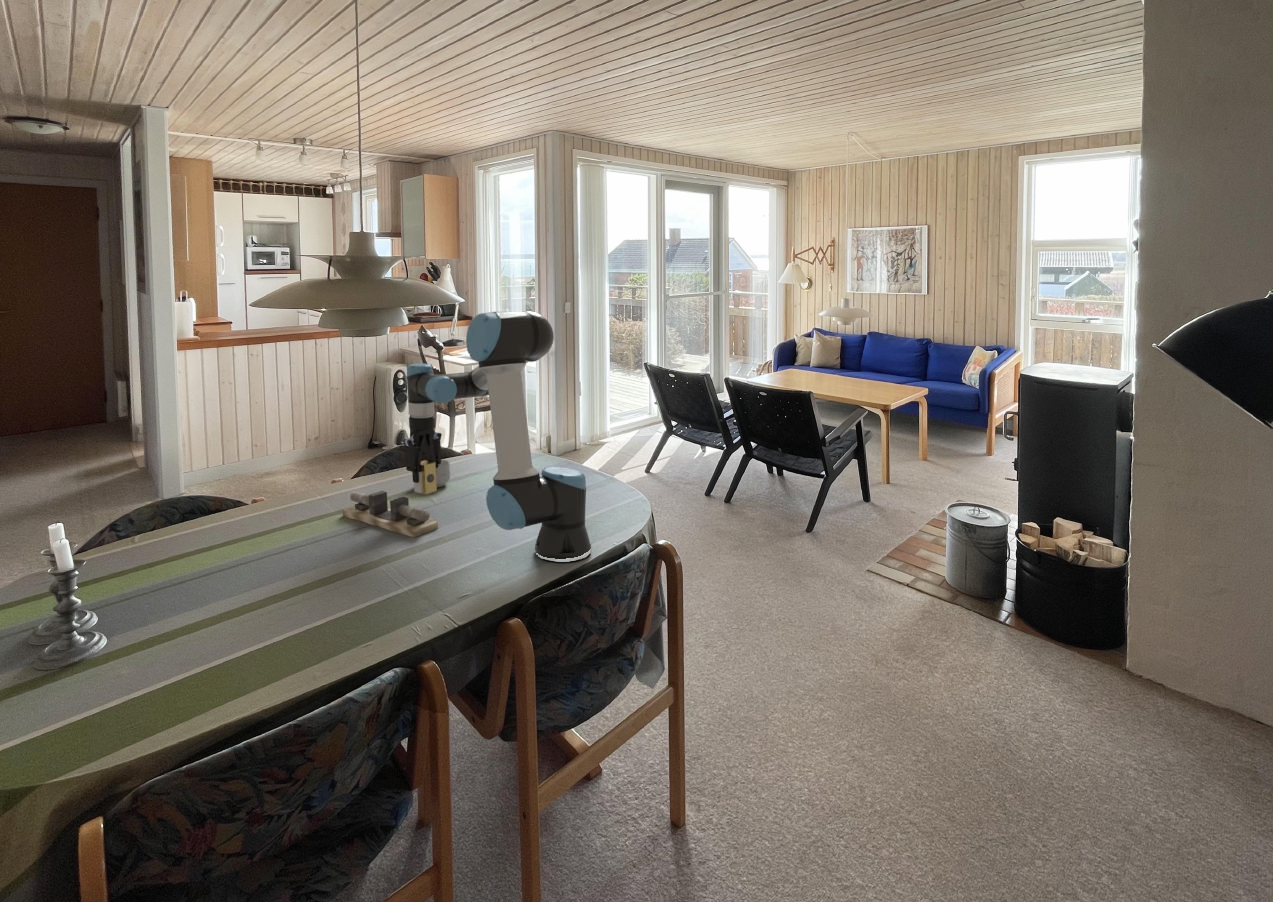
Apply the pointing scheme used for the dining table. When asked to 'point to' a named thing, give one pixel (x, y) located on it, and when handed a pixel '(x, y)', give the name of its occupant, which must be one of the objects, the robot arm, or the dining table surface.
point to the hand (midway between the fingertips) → (425, 489)
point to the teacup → (442, 473)
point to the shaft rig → (390, 514)
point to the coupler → (428, 476)
